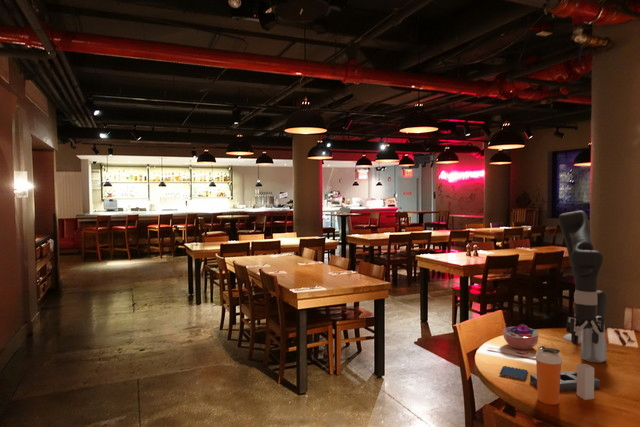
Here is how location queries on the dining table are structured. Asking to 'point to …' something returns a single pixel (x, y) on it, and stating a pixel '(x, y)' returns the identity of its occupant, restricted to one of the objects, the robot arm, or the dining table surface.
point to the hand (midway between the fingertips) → (584, 343)
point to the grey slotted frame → (567, 381)
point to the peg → (585, 381)
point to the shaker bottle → (548, 375)
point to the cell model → (521, 336)
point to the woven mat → (514, 373)
